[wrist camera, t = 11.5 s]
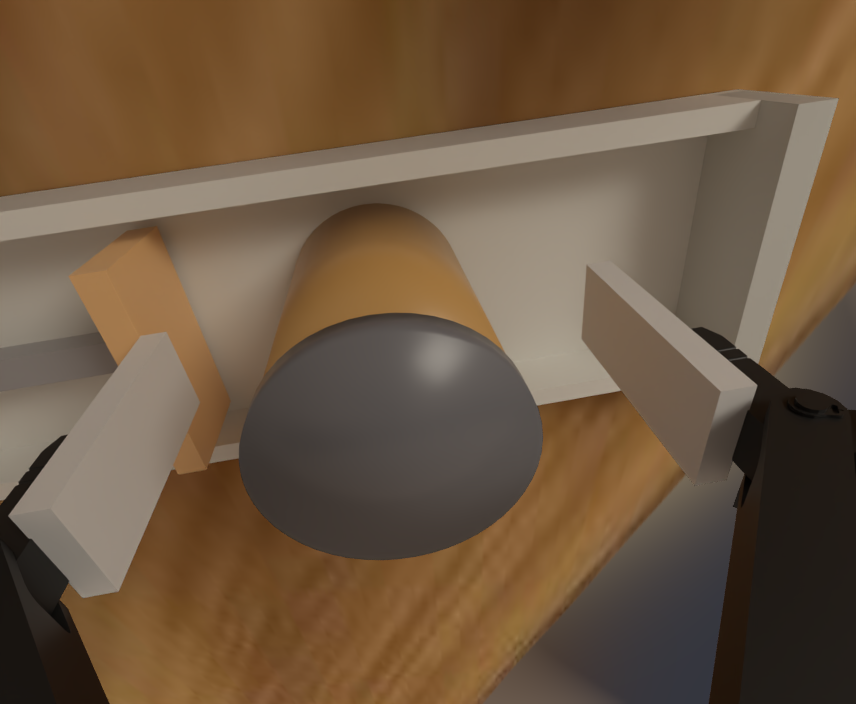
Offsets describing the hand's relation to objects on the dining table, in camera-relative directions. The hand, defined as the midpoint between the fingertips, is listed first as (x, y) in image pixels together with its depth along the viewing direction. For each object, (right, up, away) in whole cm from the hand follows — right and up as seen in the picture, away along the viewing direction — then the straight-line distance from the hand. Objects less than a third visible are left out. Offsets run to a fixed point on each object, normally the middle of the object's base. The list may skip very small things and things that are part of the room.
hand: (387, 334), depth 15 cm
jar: (-1, +2, +4) cm, 4 cm away
